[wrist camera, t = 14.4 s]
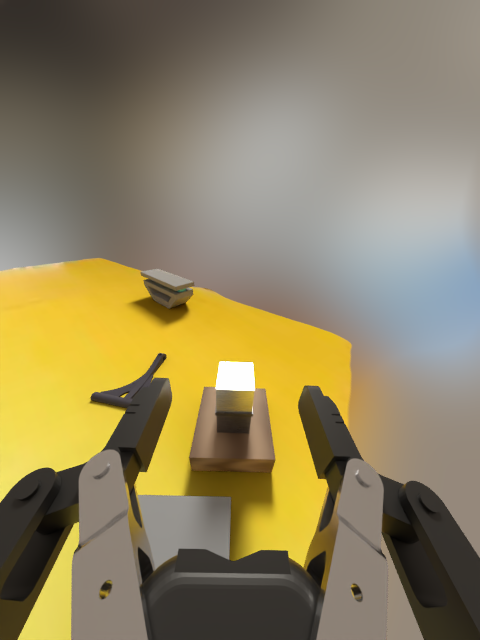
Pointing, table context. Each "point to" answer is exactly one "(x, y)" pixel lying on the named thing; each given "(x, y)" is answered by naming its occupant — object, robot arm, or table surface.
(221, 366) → the block
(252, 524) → the table surface
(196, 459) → the stand
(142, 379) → the bracket
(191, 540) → the stand
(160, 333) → the table surface
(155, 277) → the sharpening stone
